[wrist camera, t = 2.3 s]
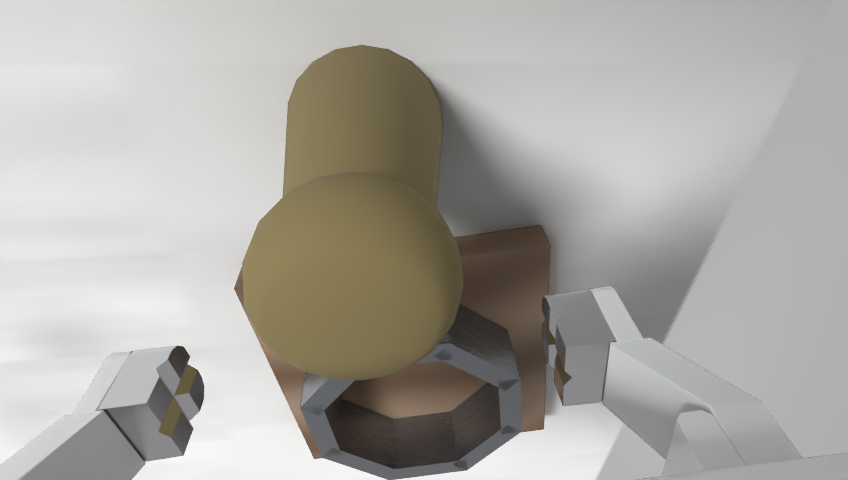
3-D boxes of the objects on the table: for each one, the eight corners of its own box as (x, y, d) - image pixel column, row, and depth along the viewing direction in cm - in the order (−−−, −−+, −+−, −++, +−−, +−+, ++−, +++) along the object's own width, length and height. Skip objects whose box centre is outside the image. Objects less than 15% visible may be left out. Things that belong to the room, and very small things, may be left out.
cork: (465, 74, 19) (540, 256, 10) (414, 206, 22) (436, 431, 13) (303, 21, 17) (219, 177, 8) (275, 170, 20) (192, 396, 12)
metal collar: (290, 314, 23) (280, 365, 21) (506, 285, 23) (520, 333, 21) (339, 436, 29) (335, 487, 27) (510, 414, 29) (522, 463, 27)
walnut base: (241, 267, 23) (234, 288, 22) (541, 225, 23) (550, 245, 22) (316, 436, 32) (314, 459, 30) (537, 407, 31) (543, 429, 30)
